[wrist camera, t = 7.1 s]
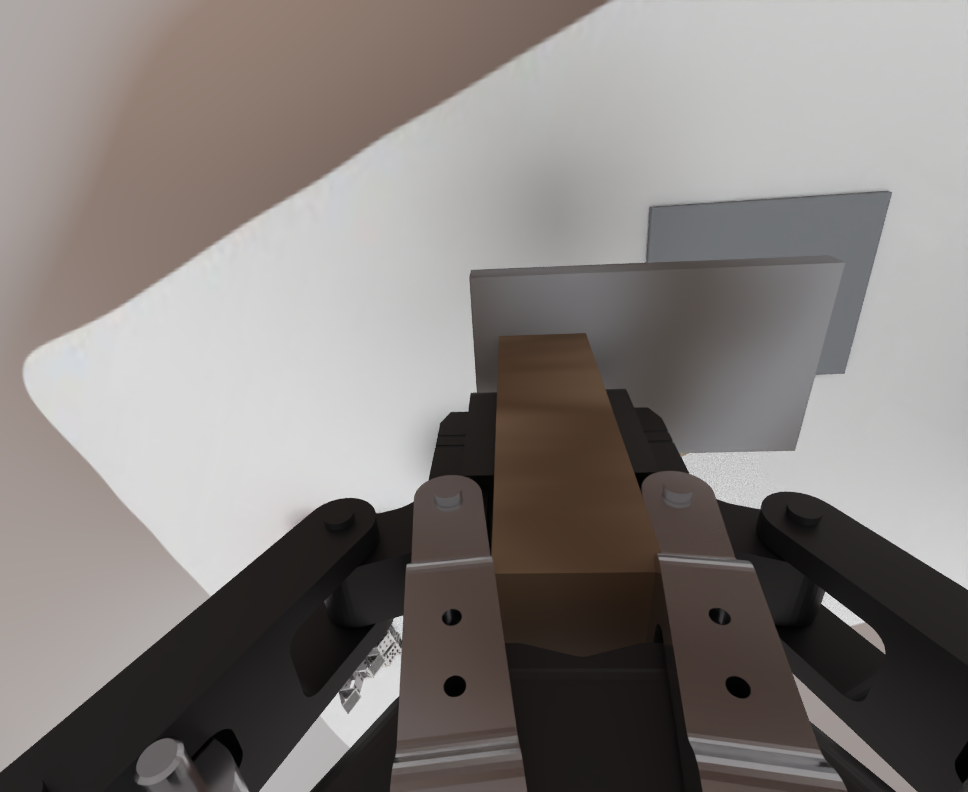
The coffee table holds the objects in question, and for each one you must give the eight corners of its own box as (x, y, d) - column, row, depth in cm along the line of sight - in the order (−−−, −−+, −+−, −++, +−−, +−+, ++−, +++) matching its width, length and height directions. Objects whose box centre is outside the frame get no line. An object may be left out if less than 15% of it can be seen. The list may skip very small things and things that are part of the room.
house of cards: (388, 582, 51) (368, 653, 44) (421, 641, 55) (407, 715, 48) (305, 598, 53) (273, 670, 46) (343, 655, 57) (319, 728, 50)
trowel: (482, 443, 18) (460, 742, 10) (471, 270, 16) (426, 476, 7) (783, 436, 18) (1043, 748, 9) (829, 255, 15) (1267, 459, 6)
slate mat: (886, 191, 32) (892, 192, 32) (840, 370, 38) (844, 373, 38) (650, 207, 34) (651, 208, 33) (638, 378, 39) (640, 381, 39)
